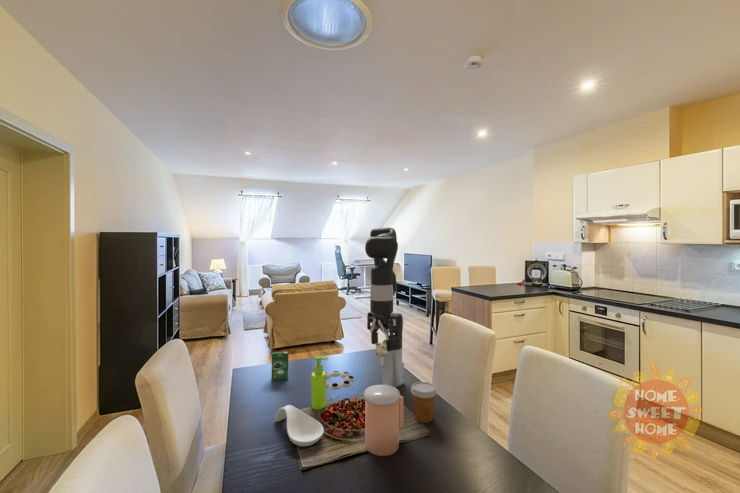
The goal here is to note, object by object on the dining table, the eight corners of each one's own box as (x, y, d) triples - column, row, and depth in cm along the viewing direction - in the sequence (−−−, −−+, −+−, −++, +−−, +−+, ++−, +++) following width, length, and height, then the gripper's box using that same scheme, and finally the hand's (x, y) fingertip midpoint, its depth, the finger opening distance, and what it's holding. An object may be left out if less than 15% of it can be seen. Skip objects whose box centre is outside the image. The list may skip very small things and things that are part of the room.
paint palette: (306, 382, 150) (306, 378, 150) (336, 369, 165) (336, 365, 165) (334, 395, 138) (334, 390, 138) (363, 380, 153) (363, 376, 152)
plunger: (383, 364, 105) (383, 342, 105) (390, 368, 102) (390, 345, 102) (373, 366, 103) (373, 344, 103) (380, 370, 100) (380, 347, 100)
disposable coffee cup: (437, 414, 121) (437, 383, 121) (434, 427, 112) (434, 394, 112) (413, 409, 124) (413, 379, 124) (408, 422, 115) (408, 390, 115)
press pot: (391, 427, 112) (391, 380, 112) (412, 445, 102) (412, 393, 102) (357, 441, 105) (357, 390, 104) (377, 461, 95) (377, 405, 95)
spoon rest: (330, 441, 105) (330, 419, 105) (300, 458, 97) (300, 435, 97) (293, 414, 122) (293, 395, 122) (264, 426, 114) (264, 407, 114)
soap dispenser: (325, 410, 124) (325, 360, 124) (309, 408, 125) (308, 359, 125) (330, 403, 130) (330, 355, 130) (314, 401, 131) (314, 353, 131)
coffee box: (288, 377, 155) (288, 350, 155) (288, 379, 152) (288, 352, 152) (271, 378, 153) (271, 352, 153) (271, 381, 151) (271, 354, 151)
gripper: (404, 300, 99) (404, 351, 99) (378, 293, 111) (378, 339, 111) (385, 302, 94) (385, 356, 95) (360, 295, 106) (360, 343, 107)
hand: (381, 347), depth 103 cm, fingers open, 8 cm apart
